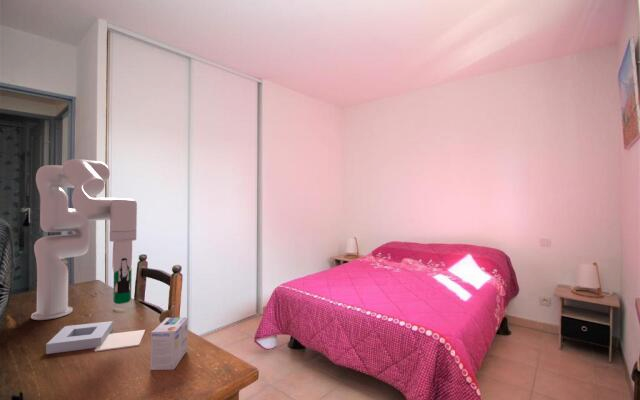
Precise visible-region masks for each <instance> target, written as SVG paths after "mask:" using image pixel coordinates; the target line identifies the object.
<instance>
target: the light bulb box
mask: <svg viewBox="0 0 640 400" xmlns="http://www.w3.org/2000/svg"><path fill="white" fill-rule="evenodd" d="M188 321H189V318H188V317H186V316H182V317H173V318H166V319H165V320H164V321H163V322H162V323H160V324H159V325H157V326H156V327H155V328H154V329H153V330H152V331H150V370H151V371H152V370H153V371H158V370H160V371H161V370H162V371H163V370H164V371H165V370H166V371H167V370H169V371H170V370H175V368H176V367H177V365H178V364H179V363H180V362H181V360H182V359H183V357H184V356H185V355H186V353H187V352H188Z"/></svg>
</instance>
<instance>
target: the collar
mask: <svg viewBox="0 0 640 400" xmlns="http://www.w3.org/2000/svg"><path fill="white" fill-rule="evenodd" d="M113 329H114V320H112V321H111V320H110V321H101V322H92V323H91V322H90V323H84V324H83V323H82V324H72V325H64V327H63V328H61V329H60V330H59V331H58V333H56V335H54V336H53V337H52V338H51V339H50V340H49V341H48V342H47V343H46V344H45V346H46V347H45V354H46V355H49V354H56V353H65V352H73V351H79V350H80V351H81V350H87V349H96V348H97V346H101V345H102V344H103V342H104V341H105V339H106V338H107V336H108V335H109V334H112V332H113Z"/></svg>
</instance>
